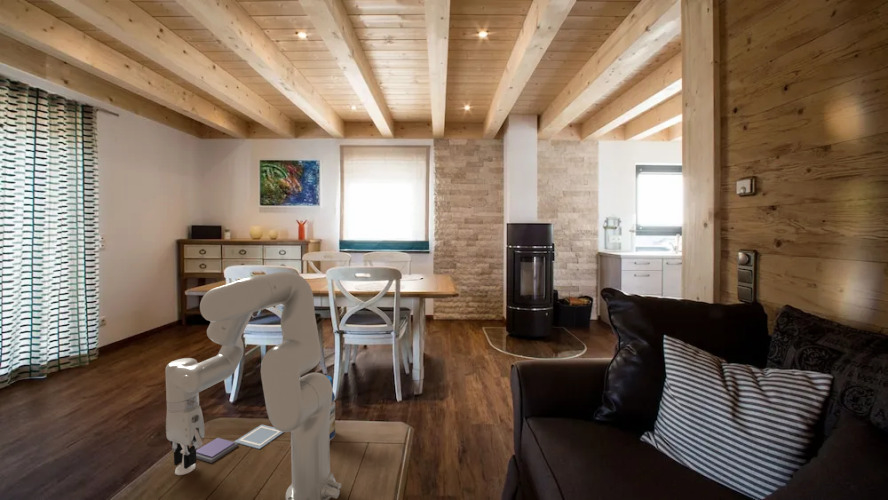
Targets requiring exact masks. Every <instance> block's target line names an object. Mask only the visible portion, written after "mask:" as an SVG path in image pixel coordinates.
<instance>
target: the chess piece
mask: <svg viewBox="0 0 888 500" xmlns="http://www.w3.org/2000/svg"><path fill="white" fill-rule="evenodd" d="M180 445H181V447H182V450H181V452H180V453H183V459H182V463H180V464H178V465H177V467H176V468H175V472H174V474H175V475H177V476H182V475H186V474H189V473H191V472H193V471H194V470H195V469H196V468H197V464H196V463H195V464H193V465H191V466H190V467H188V468H187V469H185V468H184V455H185V449H184V445H182V444H180Z"/></svg>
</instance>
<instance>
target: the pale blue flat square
mask: <svg viewBox="0 0 888 500" xmlns="http://www.w3.org/2000/svg"><path fill="white" fill-rule="evenodd" d="M284 433H285V432H281V431H279V430H277V429H276V428H275V427H274V426H269V425H266V424H259V426H256V427H255V428H253V429H252V430H250V431H249V432H247V433H245V434H244V435H242V436H241V437H239V438H237V439H236V440H234V441H233V442H236V443H238V445H241V446H247V447H249V448H254V449H255V450H261V449H262V448H264V447H265V446H266V445H268V444H269V443H271V442H272V441H274V440H275V439H277V438H278V437H280V436H282V434H284Z"/></svg>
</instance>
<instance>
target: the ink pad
mask: <svg viewBox="0 0 888 500" xmlns="http://www.w3.org/2000/svg"><path fill="white" fill-rule="evenodd" d="M237 447H239V444H238V443H236V442H234V441H233V440H229V439H226V438H225V439H224V438H221V437H216V438H215V439H213V440H211V441H210V442H208V443H206V444H203V445H202V446H200V447H198V448H197V450H196V460H199V461H203V462H206V463H210V464H212V463H214V462H215V461H217V460H219V459H221V458H222V457H224V456H225V455H226V454H228V453H229V452H231V451H233V450H234V449H235V448H237Z"/></svg>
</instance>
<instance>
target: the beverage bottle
mask: <svg viewBox="0 0 888 500" xmlns="http://www.w3.org/2000/svg"><path fill="white" fill-rule="evenodd" d="M325 376H326V377H327V378H328V379H329V380H330V382H331V385H332V387H333V386H334V385H333V377H332V376H330V375H325ZM335 399H336V396H335V393H334V391H333V390H332V402H331V408H330V420H329V431H330V433H329V438H330V441H331V440H333V439H334V438H335V436H336V402H335Z"/></svg>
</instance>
